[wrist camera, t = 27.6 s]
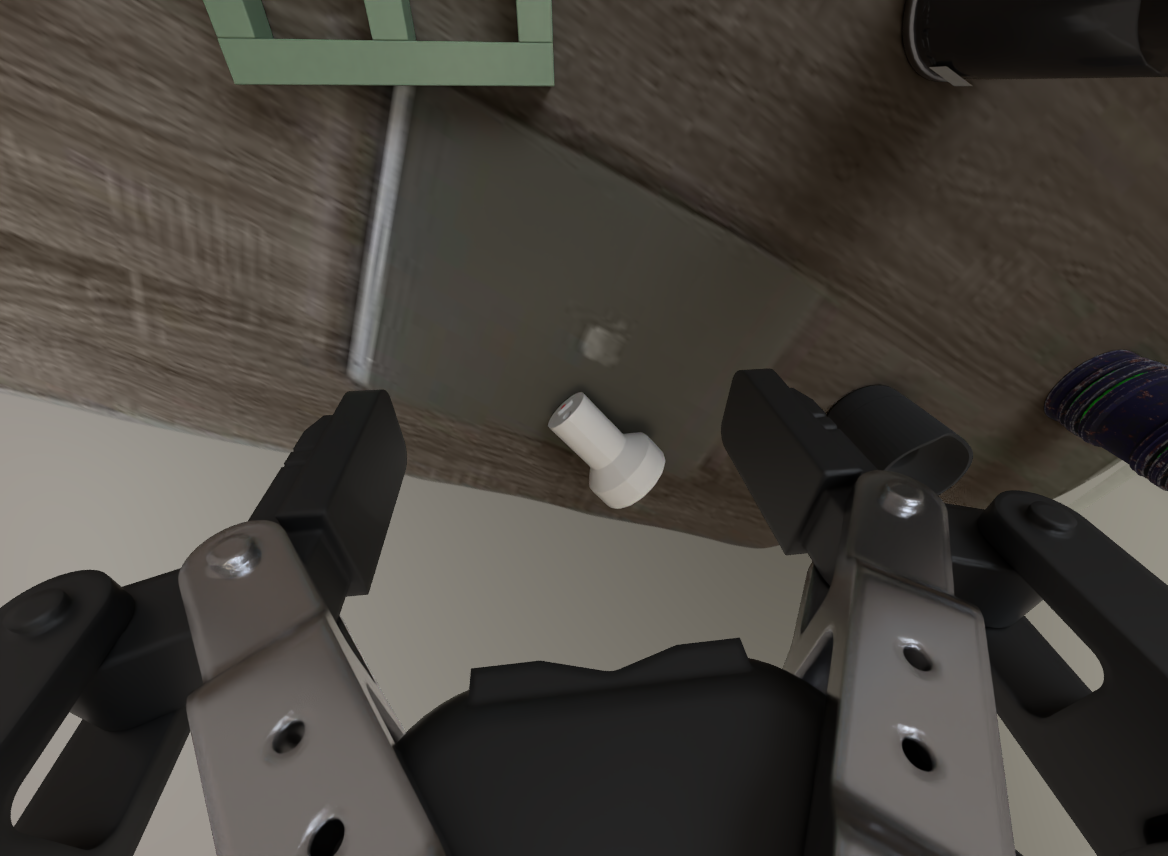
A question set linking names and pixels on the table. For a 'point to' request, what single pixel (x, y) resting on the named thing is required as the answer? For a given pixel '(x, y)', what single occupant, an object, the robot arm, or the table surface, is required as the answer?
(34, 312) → the table surface
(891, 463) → the pen holder
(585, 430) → the spotlight
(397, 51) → the caddy
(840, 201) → the table surface
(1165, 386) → the storage jar
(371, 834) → the robot arm
